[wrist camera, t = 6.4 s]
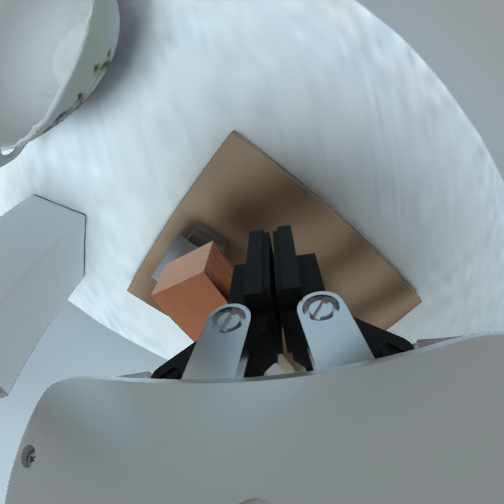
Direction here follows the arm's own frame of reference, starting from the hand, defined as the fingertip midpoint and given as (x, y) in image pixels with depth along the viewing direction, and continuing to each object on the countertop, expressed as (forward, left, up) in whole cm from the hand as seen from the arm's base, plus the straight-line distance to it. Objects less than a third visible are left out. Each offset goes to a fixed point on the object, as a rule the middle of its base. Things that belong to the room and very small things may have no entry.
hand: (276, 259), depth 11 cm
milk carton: (+14, +15, -9) cm, 22 cm away
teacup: (+19, 0, -9) cm, 21 cm away
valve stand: (-6, +6, -9) cm, 13 cm away
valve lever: (-2, +4, 0) cm, 5 cm away
